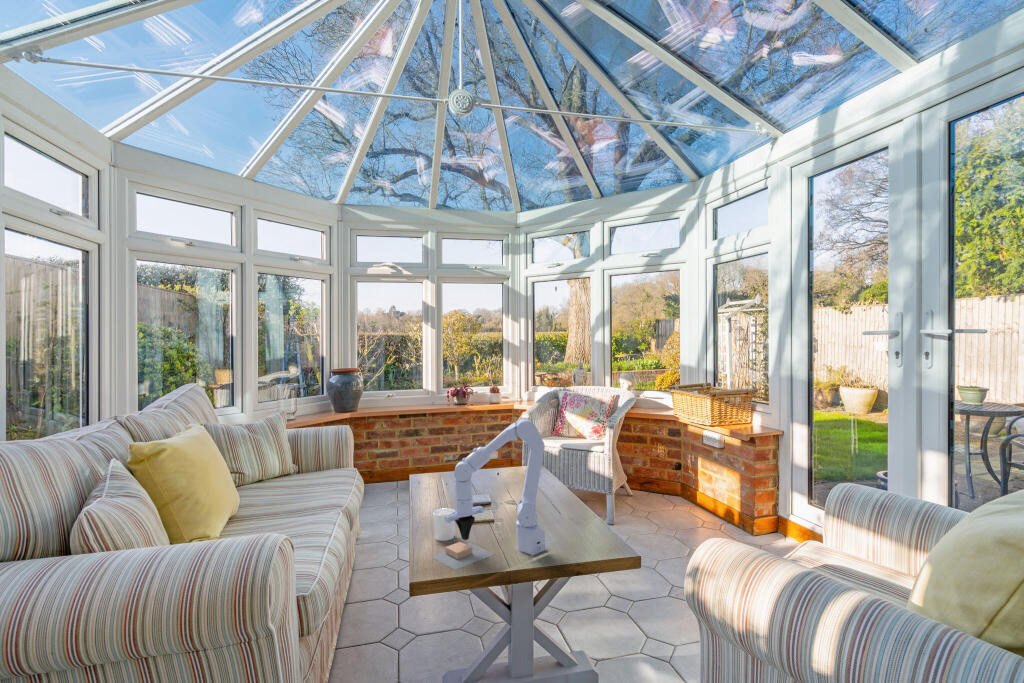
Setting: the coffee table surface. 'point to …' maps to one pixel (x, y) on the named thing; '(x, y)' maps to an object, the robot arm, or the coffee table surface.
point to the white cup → (443, 524)
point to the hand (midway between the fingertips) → (465, 538)
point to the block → (458, 550)
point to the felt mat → (458, 563)
